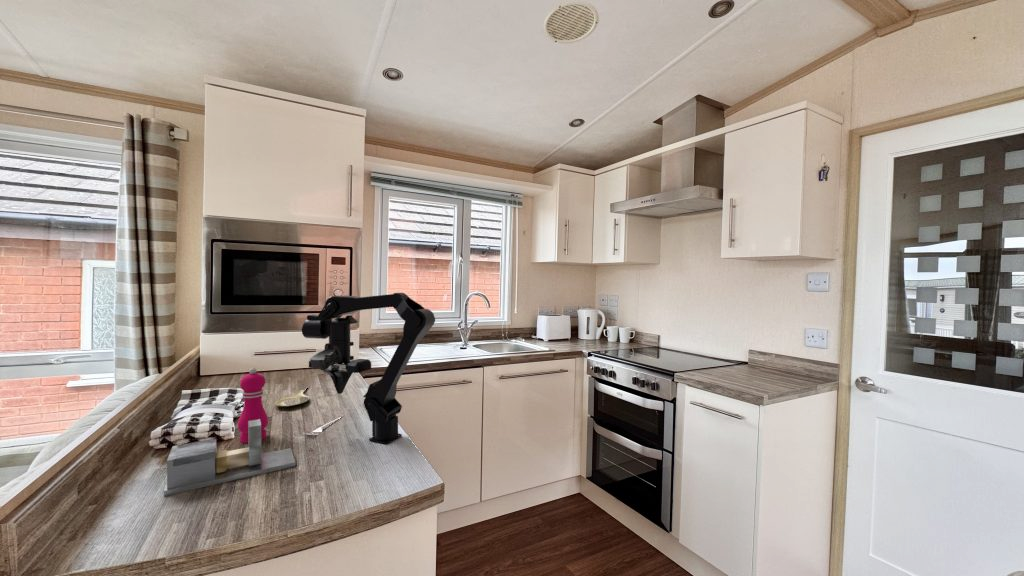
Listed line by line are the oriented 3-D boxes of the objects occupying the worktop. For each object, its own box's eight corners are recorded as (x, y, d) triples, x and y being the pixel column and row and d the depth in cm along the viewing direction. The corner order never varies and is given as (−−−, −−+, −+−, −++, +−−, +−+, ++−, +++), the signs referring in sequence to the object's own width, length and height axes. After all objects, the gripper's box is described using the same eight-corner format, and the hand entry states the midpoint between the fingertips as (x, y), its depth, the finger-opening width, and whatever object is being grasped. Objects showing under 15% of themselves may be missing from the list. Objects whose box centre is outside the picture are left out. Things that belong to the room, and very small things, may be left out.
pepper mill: (253, 444, 109) (253, 371, 109) (231, 442, 111) (230, 370, 110) (274, 435, 116) (273, 365, 116) (253, 433, 118) (252, 364, 118)
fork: (349, 418, 133) (349, 412, 133) (311, 439, 114) (311, 433, 114) (339, 417, 134) (339, 412, 134) (301, 439, 114) (301, 432, 114)
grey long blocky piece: (290, 451, 105) (290, 424, 105) (295, 466, 97) (295, 437, 96) (170, 476, 91) (169, 445, 91) (163, 496, 83) (163, 462, 83)
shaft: (260, 456, 99) (260, 419, 99) (261, 464, 95) (261, 425, 95) (179, 473, 90) (178, 432, 90) (176, 482, 86) (176, 439, 86)
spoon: (293, 391, 170) (293, 386, 170) (320, 389, 173) (320, 384, 173) (268, 411, 136) (269, 405, 137) (303, 409, 140) (303, 402, 140)
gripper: (291, 341, 112) (292, 396, 113) (341, 345, 105) (342, 405, 105) (324, 336, 123) (325, 387, 123) (372, 339, 115) (372, 394, 115)
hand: (339, 393), depth 116 cm, fingers closed
